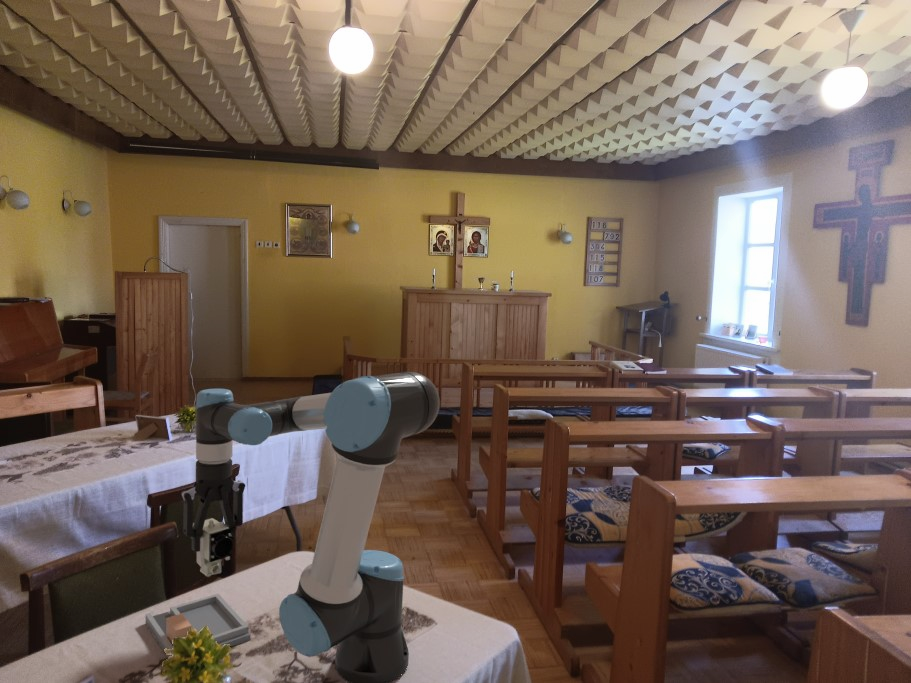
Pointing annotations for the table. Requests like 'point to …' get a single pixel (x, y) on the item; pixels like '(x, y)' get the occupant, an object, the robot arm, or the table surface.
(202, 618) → the grey tray
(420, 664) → the table surface
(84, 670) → the table surface
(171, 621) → the tan cardboard box
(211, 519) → the pneumatic valve
